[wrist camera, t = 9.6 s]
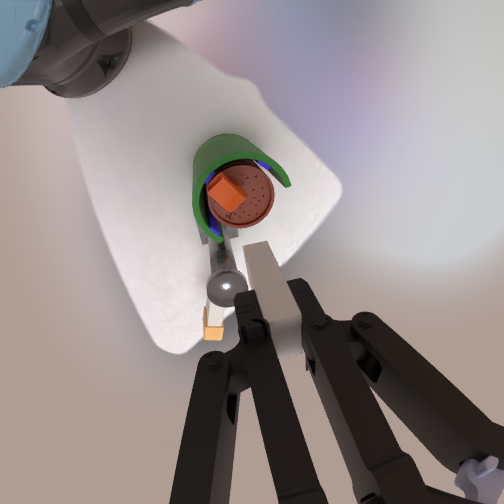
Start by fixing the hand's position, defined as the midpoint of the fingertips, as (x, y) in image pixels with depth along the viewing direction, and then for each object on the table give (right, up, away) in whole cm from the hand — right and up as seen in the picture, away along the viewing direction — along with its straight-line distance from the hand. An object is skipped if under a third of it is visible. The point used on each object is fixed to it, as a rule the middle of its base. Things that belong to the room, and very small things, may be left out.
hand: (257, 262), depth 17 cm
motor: (-5, +14, +23) cm, 28 cm away
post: (-6, +5, +28) cm, 29 cm away
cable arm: (-6, -5, +24) cm, 25 cm away
